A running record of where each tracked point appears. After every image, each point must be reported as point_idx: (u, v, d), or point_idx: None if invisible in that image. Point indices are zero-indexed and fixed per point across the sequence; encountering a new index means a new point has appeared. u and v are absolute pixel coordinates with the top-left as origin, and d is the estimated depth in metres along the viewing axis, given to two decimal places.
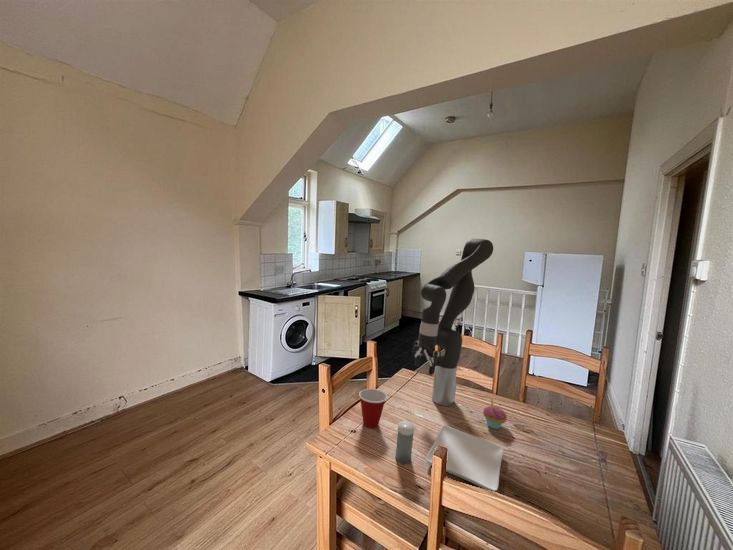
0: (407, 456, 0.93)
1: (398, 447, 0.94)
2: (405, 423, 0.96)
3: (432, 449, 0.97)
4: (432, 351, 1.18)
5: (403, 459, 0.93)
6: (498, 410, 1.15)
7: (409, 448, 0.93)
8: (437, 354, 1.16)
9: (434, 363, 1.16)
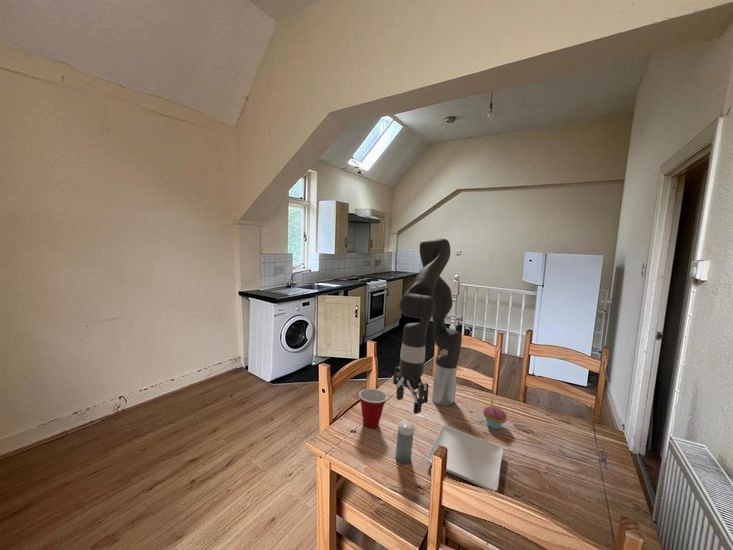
0: (407, 456, 0.93)
1: (398, 447, 0.94)
2: (405, 423, 0.96)
3: (432, 449, 0.97)
4: (417, 383, 0.89)
5: (403, 459, 0.93)
6: (498, 410, 1.15)
7: (409, 448, 0.93)
8: (423, 388, 0.86)
9: (420, 400, 0.87)
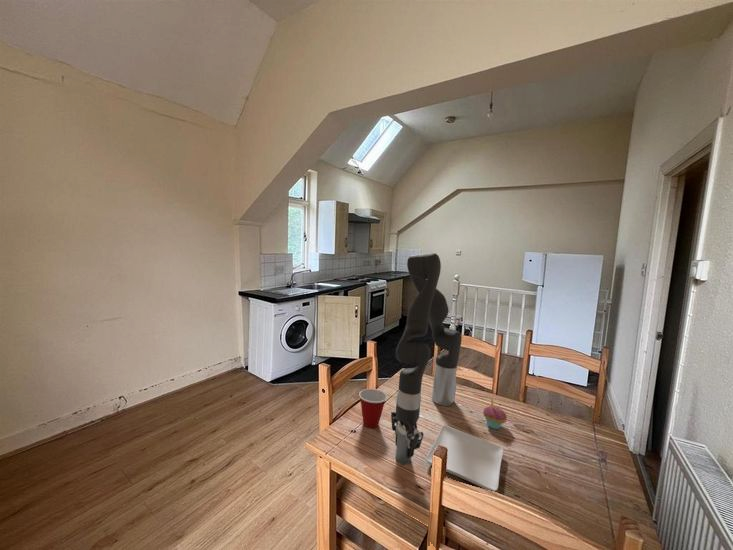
0: None
1: (398, 447, 0.94)
2: None
3: (432, 449, 0.97)
4: (413, 430, 0.90)
5: (403, 459, 0.93)
6: (498, 410, 1.15)
7: None
8: (418, 438, 0.89)
9: (412, 446, 0.90)
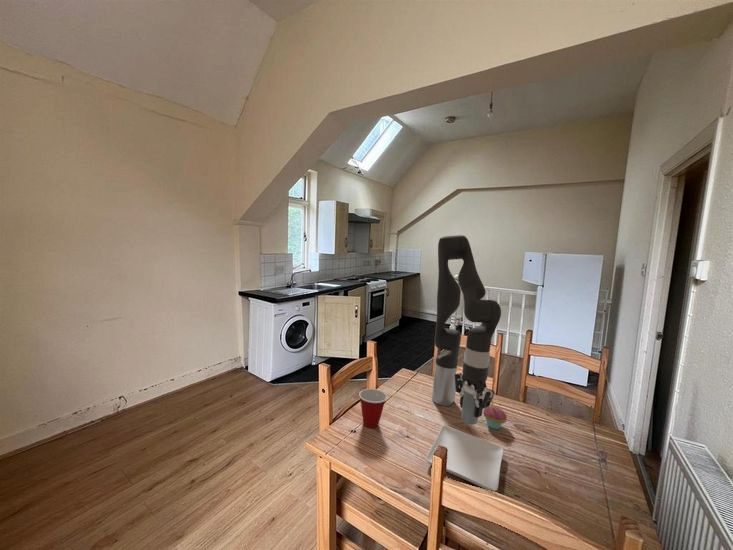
0: (475, 417, 0.92)
1: (465, 407, 0.93)
2: None
3: (432, 449, 0.97)
4: (483, 388, 0.89)
5: (471, 419, 0.92)
6: (498, 410, 1.15)
7: None
8: (490, 395, 0.88)
9: (482, 404, 0.89)
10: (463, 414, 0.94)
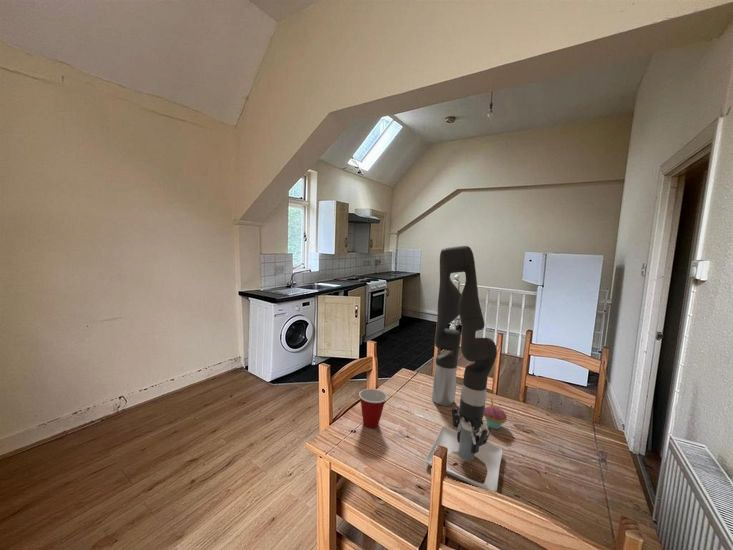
0: None
1: (462, 443, 0.94)
2: None
3: (431, 450, 0.98)
4: (479, 426, 0.91)
5: (468, 456, 0.94)
6: (498, 410, 1.15)
7: None
8: (486, 434, 0.89)
9: (479, 442, 0.90)
10: (460, 450, 0.95)
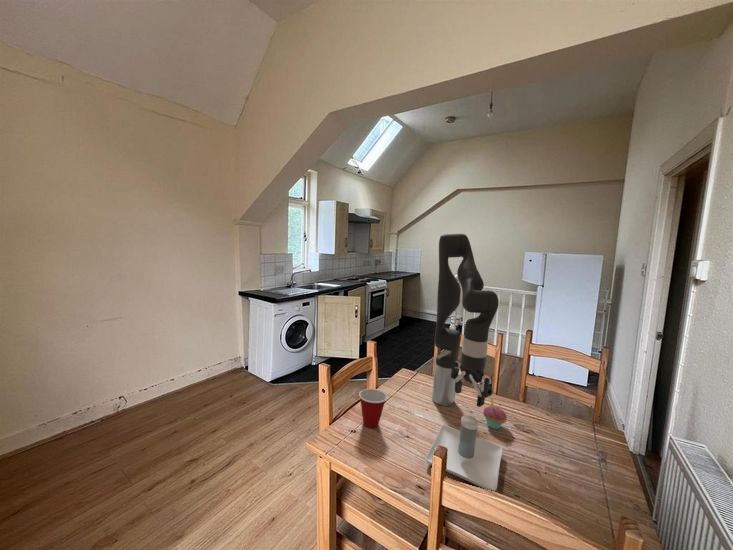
0: (471, 451, 0.94)
1: (462, 441, 0.95)
2: (468, 418, 0.96)
3: (431, 449, 0.98)
4: (481, 377, 0.91)
5: (467, 454, 0.94)
6: (498, 410, 1.15)
7: (473, 442, 0.94)
8: (489, 381, 0.88)
9: (485, 393, 0.89)
10: (460, 448, 0.95)
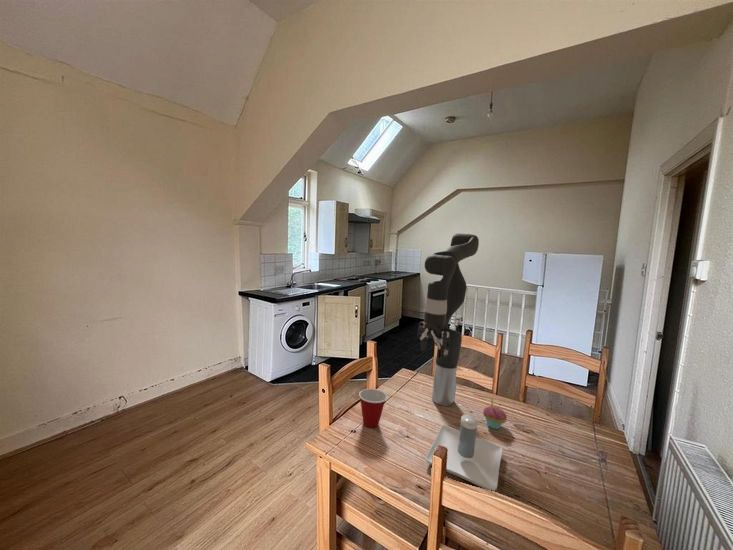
0: (471, 450, 0.94)
1: (462, 441, 0.95)
2: (468, 417, 0.96)
3: (431, 448, 0.98)
4: (440, 332, 1.02)
5: (467, 453, 0.94)
6: (498, 410, 1.15)
7: (473, 442, 0.94)
8: (446, 335, 1.00)
9: (443, 345, 1.00)
10: (460, 447, 0.95)
